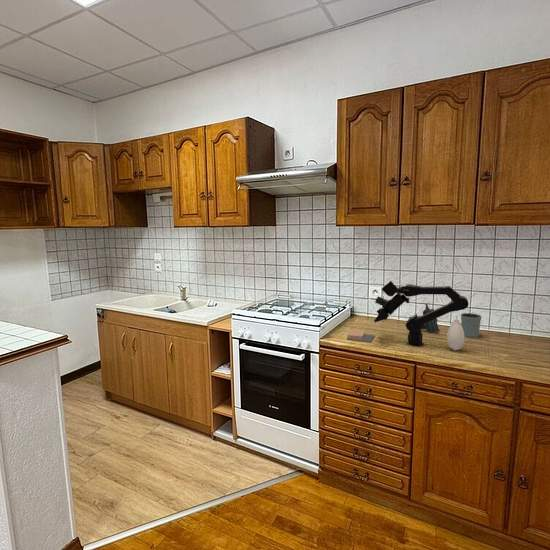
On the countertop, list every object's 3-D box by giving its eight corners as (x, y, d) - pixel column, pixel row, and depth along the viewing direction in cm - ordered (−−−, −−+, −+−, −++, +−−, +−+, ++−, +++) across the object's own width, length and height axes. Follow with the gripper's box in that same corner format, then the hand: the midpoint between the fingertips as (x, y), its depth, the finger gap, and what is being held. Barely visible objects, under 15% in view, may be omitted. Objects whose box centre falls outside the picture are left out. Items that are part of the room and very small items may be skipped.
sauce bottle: (462, 353, 170) (464, 317, 168) (445, 350, 175) (446, 315, 172) (464, 349, 177) (466, 314, 174) (447, 346, 181) (449, 312, 179)
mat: (374, 336, 199) (374, 335, 199) (371, 342, 188) (371, 341, 188) (351, 333, 204) (351, 332, 204) (347, 339, 193) (347, 338, 193)
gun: (408, 305, 213) (433, 302, 204) (414, 332, 212) (440, 330, 203) (406, 306, 211) (432, 303, 202) (413, 333, 210) (439, 331, 201)
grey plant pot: (478, 334, 200) (479, 313, 199) (481, 339, 191) (483, 318, 190) (458, 332, 204) (459, 312, 203) (460, 337, 195) (462, 316, 193)
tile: (365, 331, 200) (351, 329, 203) (362, 336, 191) (347, 334, 194) (365, 334, 200) (351, 333, 203) (362, 339, 191) (347, 338, 194)
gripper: (387, 289, 197) (368, 308, 203) (380, 294, 181) (359, 313, 187) (402, 304, 194) (382, 322, 200) (396, 309, 178) (374, 329, 184)
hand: (374, 321), depth 193 cm, fingers closed
